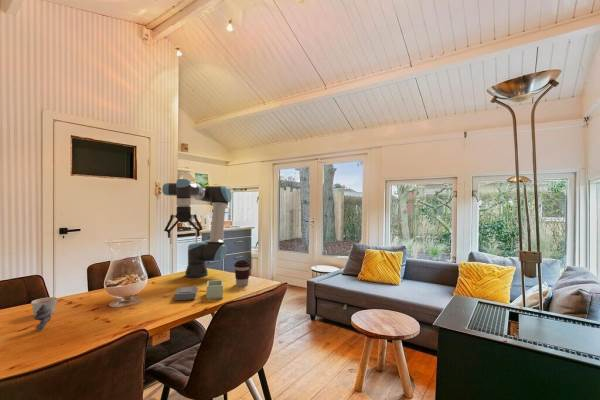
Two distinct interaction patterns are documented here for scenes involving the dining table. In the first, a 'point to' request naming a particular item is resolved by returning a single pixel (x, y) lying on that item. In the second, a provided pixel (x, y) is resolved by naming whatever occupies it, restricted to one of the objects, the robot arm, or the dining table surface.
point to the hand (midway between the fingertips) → (183, 243)
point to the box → (214, 289)
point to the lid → (186, 293)
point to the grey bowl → (47, 301)
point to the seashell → (43, 316)
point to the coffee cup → (242, 272)
